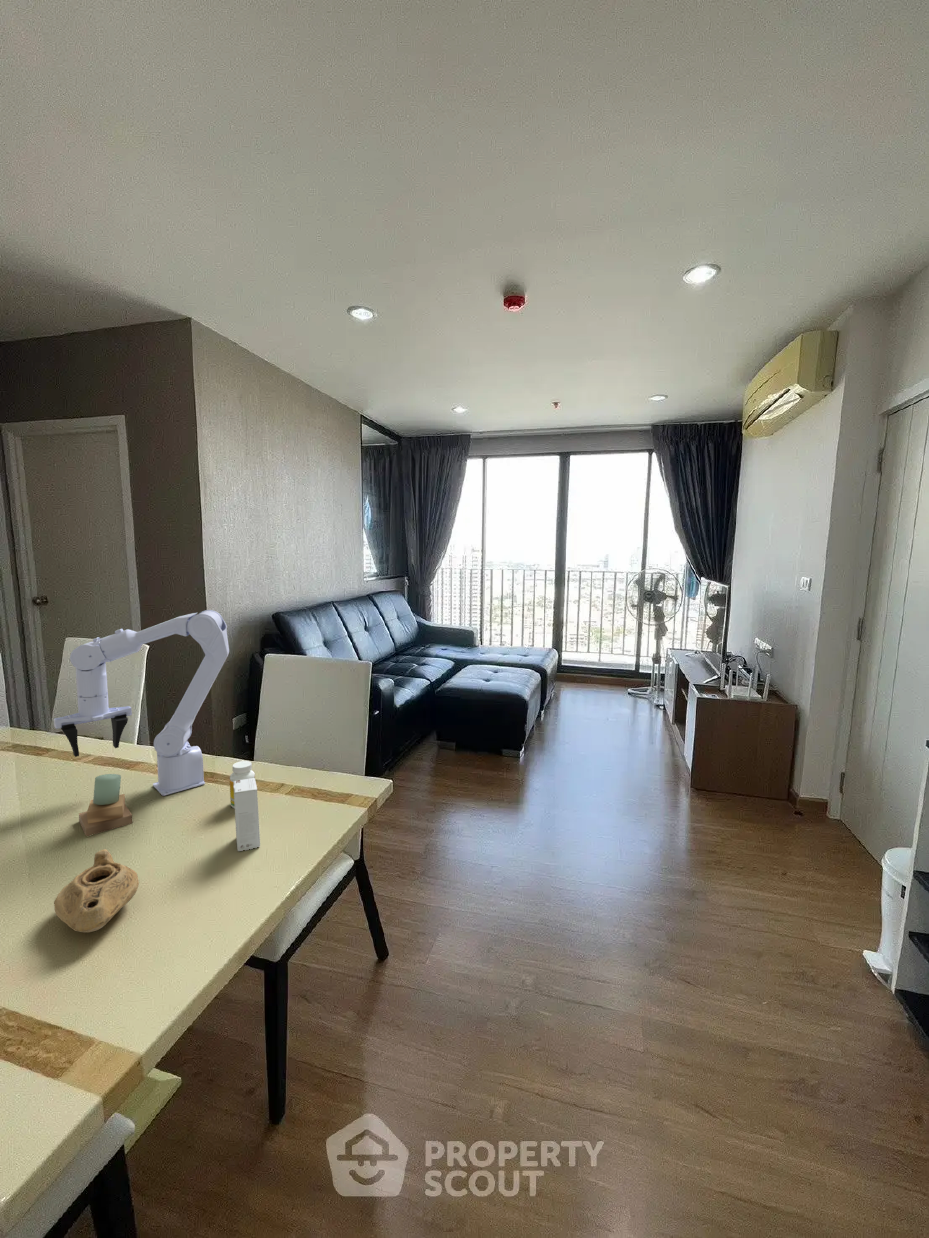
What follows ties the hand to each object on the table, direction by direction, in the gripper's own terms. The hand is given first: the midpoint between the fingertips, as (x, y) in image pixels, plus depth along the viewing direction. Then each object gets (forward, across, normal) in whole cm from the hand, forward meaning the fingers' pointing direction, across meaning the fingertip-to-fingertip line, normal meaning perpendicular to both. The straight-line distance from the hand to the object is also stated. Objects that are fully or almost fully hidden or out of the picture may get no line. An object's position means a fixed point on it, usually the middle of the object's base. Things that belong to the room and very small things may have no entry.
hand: (96, 750), depth 119 cm
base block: (+11, -2, -16) cm, 20 cm away
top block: (+9, -2, -16) cm, 19 cm away
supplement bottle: (+11, +22, -28) cm, 37 cm away
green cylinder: (+6, -2, -16) cm, 17 cm away
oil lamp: (+11, -10, -48) cm, 51 cm away
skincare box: (+11, +16, -44) cm, 48 cm away
